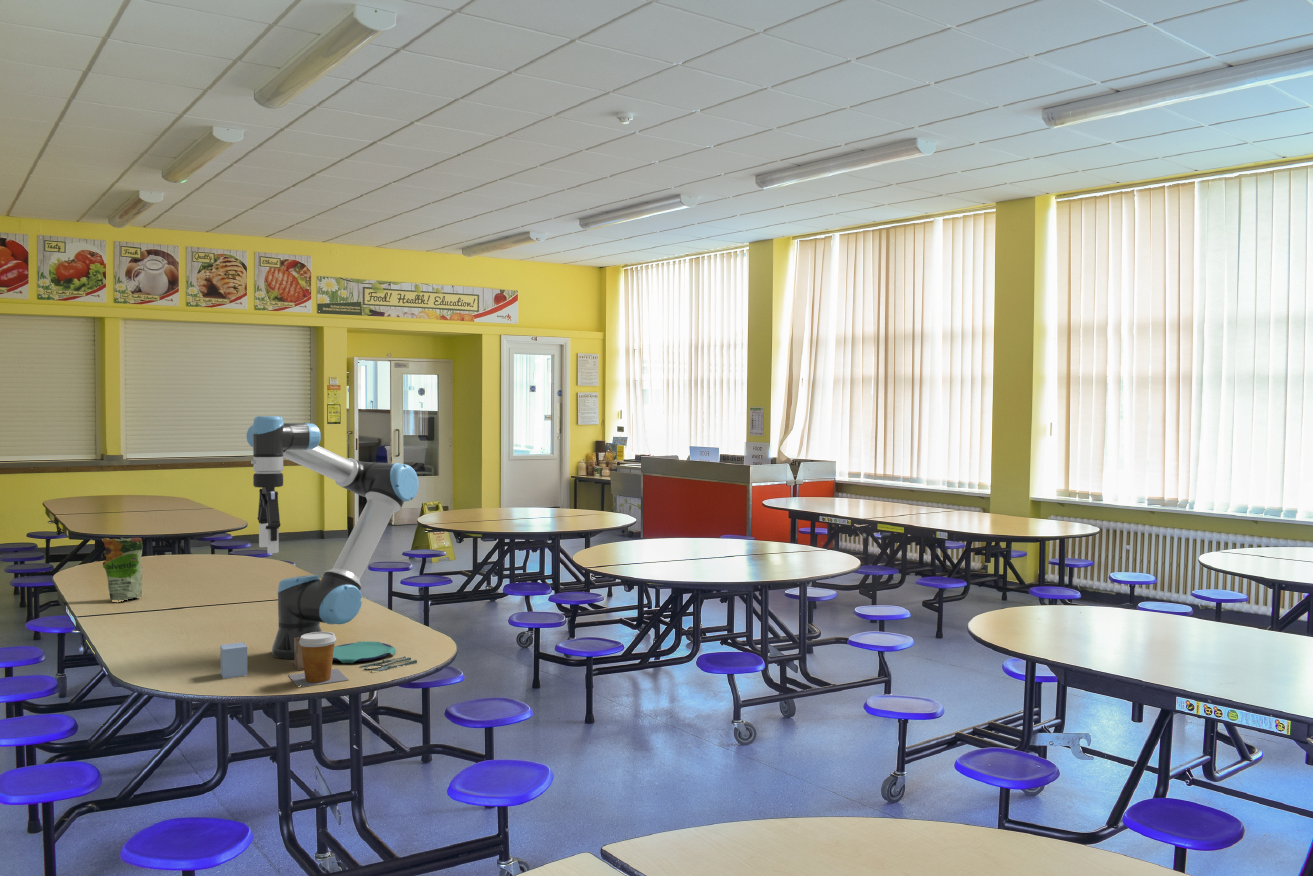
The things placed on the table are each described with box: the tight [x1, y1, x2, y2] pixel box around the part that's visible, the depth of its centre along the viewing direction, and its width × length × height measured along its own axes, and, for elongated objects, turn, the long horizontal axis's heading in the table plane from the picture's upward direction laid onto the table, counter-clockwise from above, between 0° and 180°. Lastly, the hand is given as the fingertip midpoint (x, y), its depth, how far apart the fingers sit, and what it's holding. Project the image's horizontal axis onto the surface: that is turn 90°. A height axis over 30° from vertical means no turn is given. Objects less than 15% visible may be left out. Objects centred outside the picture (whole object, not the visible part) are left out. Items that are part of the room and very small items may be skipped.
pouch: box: [101, 536, 144, 601], centre depth 352 cm, size 11×12×25 cm
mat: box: [288, 668, 349, 688], centre depth 248 cm, size 13×13×1 cm
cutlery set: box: [333, 640, 418, 673], centre depth 269 cm, size 20×30×2 cm, turn 45°
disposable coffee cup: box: [299, 631, 337, 683], centre depth 246 cm, size 10×10×12 cm
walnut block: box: [294, 637, 304, 671], centre depth 260 cm, size 6×6×8 cm
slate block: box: [219, 641, 248, 679], centre depth 252 cm, size 6×6×8 cm
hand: (268, 550), depth 250 cm, fingers open, 13 cm apart
